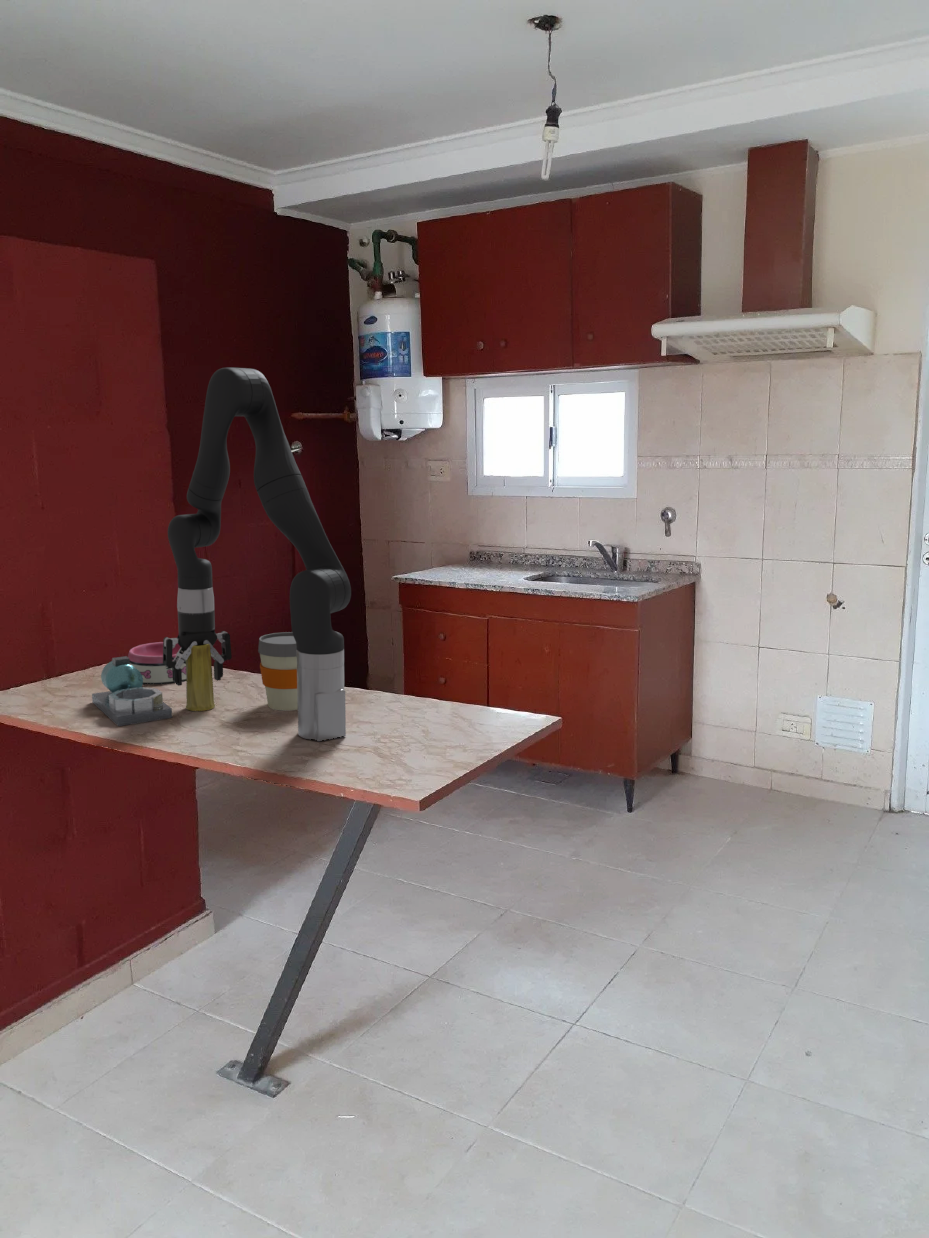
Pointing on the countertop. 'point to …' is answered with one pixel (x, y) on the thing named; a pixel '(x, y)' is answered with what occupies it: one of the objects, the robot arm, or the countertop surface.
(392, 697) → the countertop surface
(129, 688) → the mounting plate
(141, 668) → the dog bowl
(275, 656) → the reusable coffee cup
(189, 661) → the vase
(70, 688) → the countertop surface
